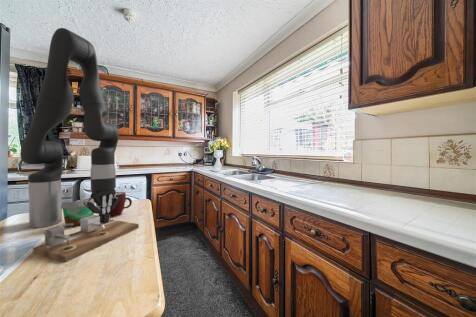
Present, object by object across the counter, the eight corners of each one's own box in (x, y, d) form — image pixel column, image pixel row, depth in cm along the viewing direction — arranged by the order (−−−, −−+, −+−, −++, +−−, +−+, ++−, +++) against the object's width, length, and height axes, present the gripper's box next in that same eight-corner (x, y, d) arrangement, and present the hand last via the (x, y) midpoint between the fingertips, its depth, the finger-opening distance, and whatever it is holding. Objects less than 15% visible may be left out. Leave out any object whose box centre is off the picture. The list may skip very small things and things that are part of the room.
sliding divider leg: (80, 230, 65) (80, 218, 64) (92, 226, 68) (92, 215, 68) (97, 234, 62) (97, 221, 62) (109, 229, 66) (109, 217, 66)
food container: (74, 230, 70) (73, 203, 70) (61, 228, 72) (60, 202, 71) (104, 219, 82) (103, 196, 82) (92, 217, 84) (91, 195, 83)
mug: (129, 210, 95) (129, 190, 95) (133, 214, 89) (133, 193, 89) (103, 214, 88) (103, 193, 88) (106, 219, 82) (106, 196, 82)
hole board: (33, 252, 55) (32, 230, 55) (111, 223, 78) (111, 207, 77) (65, 262, 51) (65, 238, 50) (138, 227, 73) (138, 211, 73)
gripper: (112, 174, 77) (113, 216, 78) (76, 178, 65) (77, 228, 65) (126, 175, 75) (127, 218, 76) (91, 179, 62) (92, 231, 63)
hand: (104, 223), depth 71 cm, fingers closed
